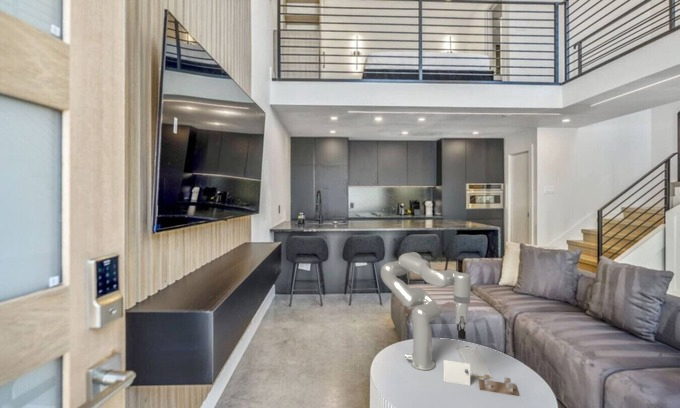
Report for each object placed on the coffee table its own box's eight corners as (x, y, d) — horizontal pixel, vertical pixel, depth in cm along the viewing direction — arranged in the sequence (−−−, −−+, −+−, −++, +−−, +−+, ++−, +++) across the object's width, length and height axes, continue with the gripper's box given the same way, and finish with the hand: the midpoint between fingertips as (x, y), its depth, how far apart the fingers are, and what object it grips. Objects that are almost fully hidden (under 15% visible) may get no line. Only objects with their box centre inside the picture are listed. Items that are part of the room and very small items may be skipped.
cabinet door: (443, 382, 163) (443, 363, 162) (443, 378, 166) (443, 360, 166) (470, 386, 159) (470, 367, 159) (469, 382, 163) (469, 363, 162)
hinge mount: (479, 389, 156) (479, 381, 156) (478, 380, 164) (478, 372, 164) (518, 396, 151) (518, 387, 151) (515, 386, 159) (515, 378, 159)
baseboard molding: (466, 377, 168) (491, 379, 166) (466, 371, 168) (491, 373, 166) (455, 350, 199) (476, 351, 197) (455, 345, 199) (476, 346, 197)
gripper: (452, 293, 172) (452, 326, 173) (454, 303, 156) (453, 340, 156) (468, 294, 170) (467, 328, 170) (471, 305, 153) (470, 343, 154)
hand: (461, 334), depth 163 cm, fingers open, 9 cm apart
